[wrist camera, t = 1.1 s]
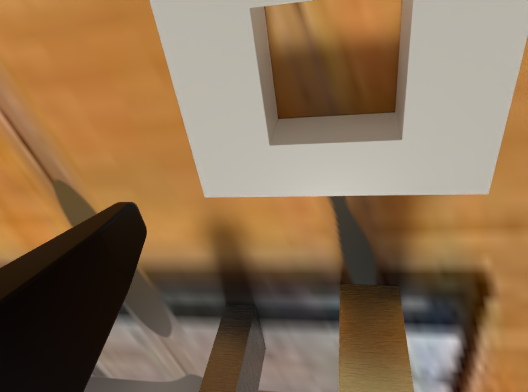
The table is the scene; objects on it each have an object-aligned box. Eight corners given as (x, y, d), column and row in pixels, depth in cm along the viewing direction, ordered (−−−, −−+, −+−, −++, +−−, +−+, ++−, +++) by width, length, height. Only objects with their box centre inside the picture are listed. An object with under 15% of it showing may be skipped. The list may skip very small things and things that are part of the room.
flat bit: (255, 305, 30) (231, 408, 24) (265, 348, 34) (247, 448, 27) (225, 303, 31) (195, 403, 25) (238, 346, 34) (214, 443, 28)
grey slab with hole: (532, -138, 13) (573, -151, 11) (471, 161, 20) (488, 194, 18) (161, -71, 16) (130, -69, 14) (219, 168, 23) (204, 197, 21)
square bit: (398, 286, 26) (421, 445, 18) (395, 321, 29) (414, 477, 21) (340, 283, 27) (337, 434, 19) (341, 318, 29) (339, 466, 21)
